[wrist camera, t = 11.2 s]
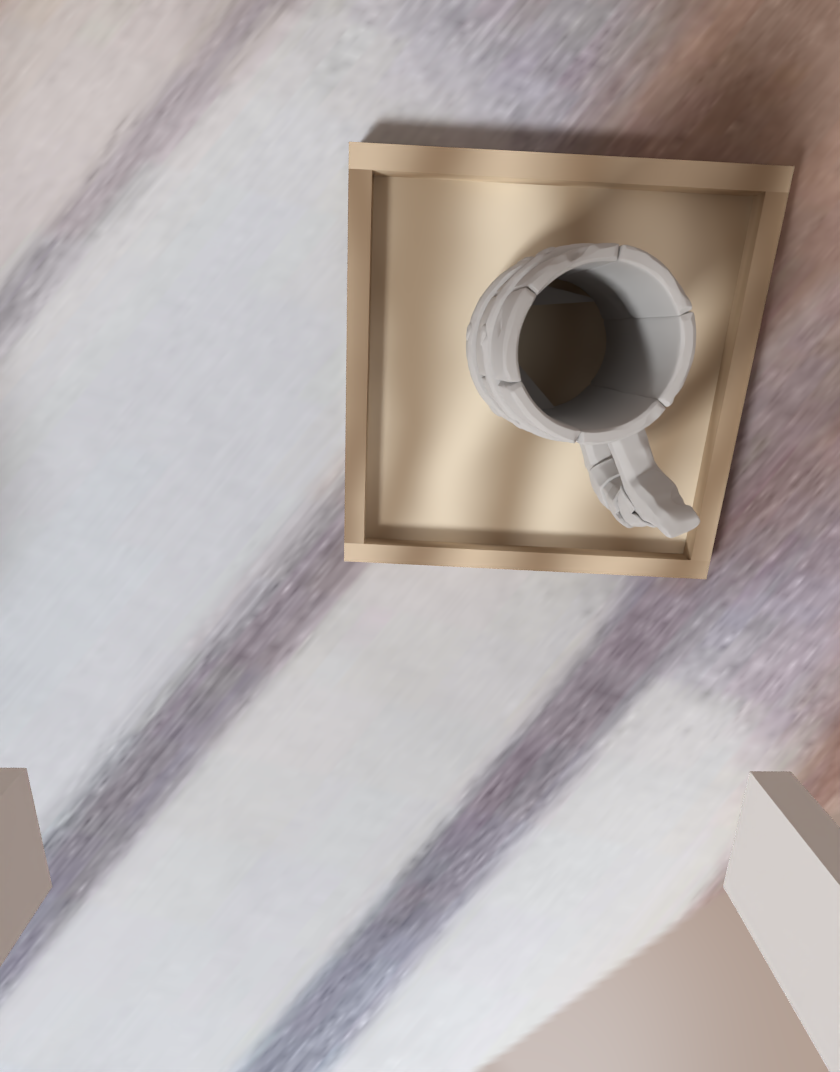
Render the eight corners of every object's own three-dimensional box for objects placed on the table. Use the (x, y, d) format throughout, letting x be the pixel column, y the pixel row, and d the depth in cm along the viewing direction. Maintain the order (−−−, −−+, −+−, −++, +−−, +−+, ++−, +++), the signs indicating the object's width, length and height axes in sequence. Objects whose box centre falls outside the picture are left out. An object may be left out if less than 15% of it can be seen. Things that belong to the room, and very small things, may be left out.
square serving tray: (347, 551, 33) (344, 561, 32) (352, 152, 27) (348, 141, 26) (694, 568, 33) (706, 579, 32) (775, 175, 27) (794, 166, 26)
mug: (589, 226, 27) (706, 147, 16) (672, 458, 31) (818, 530, 19) (437, 304, 29) (445, 283, 17) (533, 520, 32) (593, 623, 20)
